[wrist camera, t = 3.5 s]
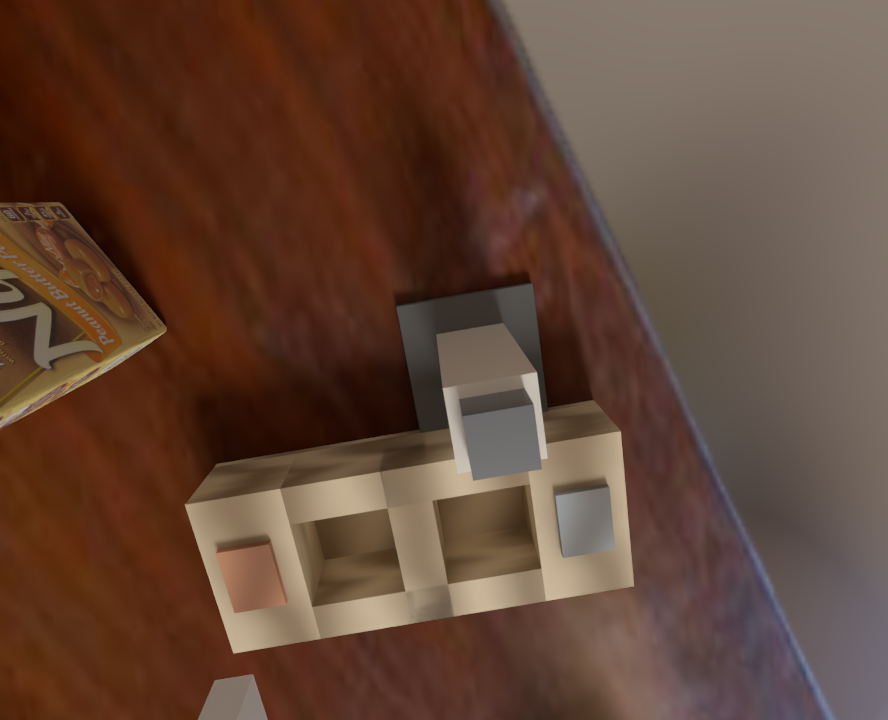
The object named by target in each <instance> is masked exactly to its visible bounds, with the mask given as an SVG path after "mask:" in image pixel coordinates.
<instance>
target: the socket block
mask: <svg viewBox="0 0 888 720" xmlns="http://www.w3.org/2000/svg"><path fill="white" fill-rule="evenodd" d="M542 416H543V424H544V432H545V440H546V448H547V456H548V458H547V459H541V464H542V469H540V470H534V471H529V472H523V473H517V474H511V475H505V476H499V477H493V478H487V479H481V480H475V481H473V477H472V472H471V471H470V472H464V473H459V474H458V473H457V468H456V462H455V456H454V450H453V445H452V439H451V433H450V428H448V429H442V430H436V431H430V432H424V433H420V430H414V431H408V432H402V433H396V434H390V435H384V436H379V437H373V438H367V439H361V440H355V441H349V442H343V443H337V444H331V445H325V446H320V447H314V448H308V449H302V450H296V451H290V452H284V453H278V454H272V455H266V456H261V457H255V458H249V459H243V460H237V461H231V462H225V463H219V464H216V465H215V467H214V468H213V469H212V471H211V472H210V473H209V474H208V476H207V477H206V478H205V480H204V481H203V482H202V483H201V485H200V486H199V487H198V489H197V490H196V491H195V493H194V494H193V495H192V496H191V498H190V499H189V500H188V502H187V503H186V504H185V507H186V510H187V513H188V516H189V519H190V522H191V525H192V528H193V531H194V534H195V537H196V540H197V544H198V547H199V550H200V553H201V556H202V559H203V562H204V565H205V568H206V571H207V574H208V577H209V580H210V583H211V586H212V589H213V592H214V596H215V599H216V602H217V605H218V608H219V611H220V614H221V617H222V620H223V623H224V626H225V629H226V632H227V635H228V638H229V641H230V644H231V647H232V651H233V653H239V652H245V651H251V650H257V649H263V648H269V647H275V646H280V645H286V644H292V643H298V642H304V641H310V640H316V639H322V638H328V637H334V636H340V635H346V634H352V633H358V632H364V631H370V630H376V629H382V628H388V627H394V626H400V625H406V624H412V623H418V622H424V621H430V620H436V619H442V618H448V617H454V616H459V615H465V614H471V613H477V612H483V611H489V610H495V609H501V608H507V607H513V606H519V605H525V604H531V603H537V602H543V601H549V600H555V599H561V598H567V597H573V596H579V595H585V594H591V593H597V592H603V591H609V590H615V589H621V588H627V587H633V586H634V581H633V570H632V558H631V546H630V535H629V523H628V511H627V499H626V488H625V476H624V464H623V453H622V441H621V431H620V430H619V429H618V428H617V426H616V425H615V424H614V423H613V422H612V421H611V420H610V418H609V417H608V416H607V415H606V414H605V413H604V412H603V410H602V409H601V408H600V407H599V406H598V405H597V404H596V402H595V401H594V400H591V401H585V402H579V403H573V404H567V405H561V406H555V407H550V408H548V412H542Z"/></svg>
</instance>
